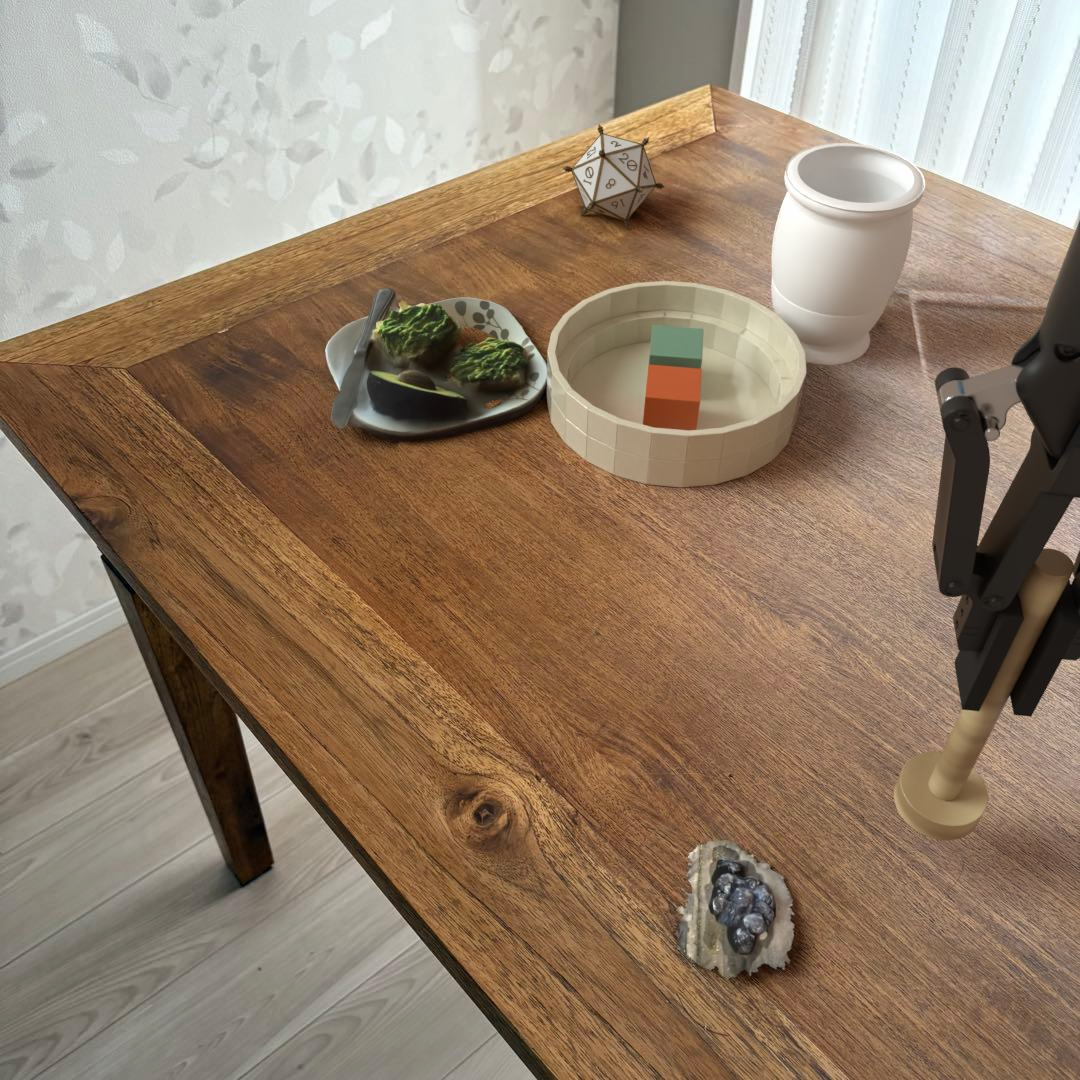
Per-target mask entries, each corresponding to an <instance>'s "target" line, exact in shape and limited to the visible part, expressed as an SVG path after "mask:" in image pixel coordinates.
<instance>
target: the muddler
mask: <svg viewBox="0 0 1080 1080" xmlns="http://www.w3.org/2000/svg"><path fill="white" fill-rule="evenodd" d="M1073 571H1074V562H1073V560H1072V559H1071V558H1070V556H1069V555H1067V554H1066V553H1065V552H1063V551H1061V550H1059V549H1055V548H1047V547H1046V548H1043V550H1042V552H1041V553H1040V555H1039V557H1038V558H1037V560H1036V562H1035V563H1034V565H1033V567H1032V568H1031V570H1030V572H1029V573H1028V575H1027V577H1026V579H1025V580H1024V582H1023V584H1022V585H1021V587H1020V589H1019V590H1018V592H1017V594H1018V597H1019V598H1020V603H1021V607H1022V612H1023V616H1024V620H1023V622H1022V624H1021V626H1020V628H1019V630H1018V632H1017V634H1016V636H1015V638H1014V640H1013V642H1012V644H1011V647H1010V649H1009V651H1008V653H1007V655H1006V657H1005V659H1004V661H1003V663H1002V665H1001V667H1000V669H999V671H998V673H997V675H996V678H995V680H994V682H993V684H992V686H991V688H990V690H989V692H988V694H987V696H986V698H985V700H984V702H983V704H982V706H981V708H980V711H971V710H962V709H961V710H960V712H959V714H958V717H957V718H956V720H955V723H954V725H953V726H952V730H951V732H950V734H949V736H948V738H947V740H946V742H945V745H944V746H943V749H942V751H924V752H921V753H918V754H916V755H913V756H912V757H910V758H909V759H908V760H907V761H906V762H905V763H904V765H903V766H902V768H901V771H900V773H899V775H898V778H897V780H896V782H895V784H894V789H893V800H894V805H895V808H896V809H897V811H898V813H899V815H900V816H901V818H902V820H904V822H905V823H906V824H907V825H909V827H910V828H912V829H913V830H914V831H916V832H918V833H920V834H921V835H923V836H925V837H928V838H930V839H934V840H939V841H956V840H960V839H962V838H965V837H967V836H968V835H970V834H971V833H973V832H974V830H975V829H976V828H977V827H978V825H979V823H980V821H981V820H982V818H983V816H984V814H985V812H986V810H987V808H988V804H989V792H988V788H987V785H986V782H985V781H984V779H983V777H982V776H981V774H980V773H979V771H977V770H976V768H975V765H976V763H977V761H978V759H979V758H980V755H981V754H982V751H983V749H984V748H985V745H986V743H987V742H988V739H989V738H990V736H991V734H992V732H993V730H994V728H995V727H996V724H997V722H998V721H999V718H1000V716H1001V714H1002V712H1003V710H1004V708H1005V706H1006V704H1007V702H1008V700H1009V699H1010V694H1011V693H1012V691H1013V689H1014V687H1015V685H1016V683H1017V681H1018V679H1019V677H1020V675H1021V673H1022V671H1023V669H1024V667H1025V665H1026V663H1027V661H1028V659H1029V657H1030V655H1031V653H1032V651H1033V649H1034V647H1035V645H1036V643H1037V641H1038V639H1039V638H1040V636H1041V634H1042V632H1043V630H1044V628H1045V626H1046V624H1047V622H1048V620H1049V618H1050V616H1051V614H1052V612H1053V610H1054V608H1055V606H1056V604H1057V602H1058V600H1059V598H1060V596H1061V594H1062V592H1063V590H1064V588H1065V586H1066V584H1067V583H1068V581H1069V580H1070V579H1071V577H1072V575H1073Z"/></svg>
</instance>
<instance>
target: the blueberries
mask: <svg viewBox="0 0 1080 1080" xmlns="http://www.w3.org/2000/svg"><path fill="white" fill-rule="evenodd" d="M687 858H688V859H689V860H690V862H691V863H690V862H688V863H687V865H688V866H690V867H689V869H688V871H687V874H685V877H686V879H687V881H688V883H689V885H690V886H691V889H692V890H691V892H690V893H689V892H688V891H686V890H685V889H684V888H683V887H681V888H680V889H681V890H682V891H683V892H684V895H685V896H687V898H684V900H685V901H687V902H685V905H684V906H685V907H684V906H683V905H680V906H678V907H677V909H676V911H677V912H678V914H679V915H680V914H681V915H682V917H681V919H680V920H679V921H680V923H679V924H678V927H679V928H677V929H678V930H676V932H675V936H676V937H677V941H676V943H675V945H676V946H678V947H680V952H681V951H682V952H683V954H684V956H685V958H688V959H690V960H691V961H693V962H694V963H696V965H697V966H699V967H701V968H702V969H703V968H705V969H706V970H709V971H712V970H713V969H715V967H717V969H718V970H717V972H718V974H719V975H720V976H721V977H723V978H725V980H729V979H731V978H733V979H734V978H736V977H738V976H739V975H738V974H741V972H743V971H745V972H746V973H748V976H750V977H751V976H752V973H758V972H759V969H758V968H759V967H762V965H764V964H765V965H769V967H771V968H773V969H774V970H777V968H781V969H782V970H785V969H786V968H785V967H786V963H787V964H790V962H791V959H790V958H789V956H788V952H789V951H791V950H792V944H793V940H794V936H795V934H794V929H795V924H794V923H793V922H792V921H791V920H792V916H795V913H794V912H793V909H792V908H791V907H792V906H793V901H794V899H793V898H792V897H793V896H792V894H791V892H790V891H789V888H788V886H787V883H786V882H785V876H783V875H782V874H781V873H780V872H776V871H774V870H773V869H771V864H769V862H766V863H765V862H763V861H762V860H761V861H760V862H757V859H756V858H755V856H754V854H749V853H748V852H747V851H746V850H744V849H743V848H742V847H740V846H738V844H737V842H734V841H732V840H727V839H722V838H720V839H714V840H712V839H711V838H708V840H707V841H706V843H704V844H703V843H700V844H696V845H695V848H694V849H693V851H690V852H688V856H687V857H686V859H687ZM791 915H792V916H791ZM785 962H786V963H785Z"/></svg>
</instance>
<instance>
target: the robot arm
mask: <svg viewBox="0 0 1080 1080" xmlns="http://www.w3.org/2000/svg"><path fill="white" fill-rule="evenodd" d="M934 387H935V391H936V396H937V402H938V408H939V412H940V417H941V424H942V428H943V431H944V433H945V437H944V444H943V452H942V461H941V470H940V477H939V478H940V479H939V486H938V494H937V501H936V502H937V503H936V511H935V516H934V526H933V535H932V536H933V537H932V543H931V548H932V552H933V561H934V567H935V573H936V580H937V584H938V590H939V593H941V595H942V596H945V597H947V598H959V597H960V598H959V601H958V604H957V606H956V609H955V611H954V614H953V616H952V621H953V626H954V627H953V628H954V634H955V641H956V645H957V649H958V653H957V655H956V658H955V659H954V661H953V662H954V668H955V675H956V681H957V687H958V694H959V700H960V707H961V710H971V711H980V708H981V706H982V704H983V702H984V700H985V698H986V696H987V694H988V692H989V690H990V688H991V686H992V684H993V682H994V680H995V678H996V675H997V673H998V671H999V669H1000V667H1001V665H1002V663H1003V661H1004V659H1005V657H1006V655H1007V653H1008V651H1009V649H1010V647H1011V644H1012V642H1013V640H1014V638H1015V636H1016V634H1017V632H1018V630H1019V628H1020V626H1021V624H1022V622H1023V620H1024V616H1023V612H1022V607H1021V603H1020V598H1019V597H1018V594H1017V592H1018V590H1019V589H1020V587H1021V585H1022V584H1023V582H1024V580H1025V579H1026V577H1027V575H1028V573H1029V572H1030V570H1031V568H1032V567H1033V565H1034V563H1035V562H1036V560H1037V558H1038V557H1039V555H1040V553H1041V552H1042V550H1043V549H1045V547H1046V546H1047V543H1048V541H1049V540H1050V538H1051V537H1052V535H1053V533H1054V532H1055V530H1056V528H1057V526H1058V525H1059V523H1060V521H1061V520H1062V518H1063V517H1064V515H1065V513H1066V511H1067V510H1068V508H1069V506H1070V505H1071V503H1072V501H1073V500H1074V498H1076V499H1080V219H1079V220H1078V223H1077V225H1076V227H1075V231H1074V233H1073V236H1072V238H1071V241H1070V243H1069V246H1068V250H1067V251H1066V254H1065V257H1064V259H1063V262H1062V265H1061V267H1060V270H1059V272H1058V275H1057V278H1056V280H1055V283H1054V285H1053V288H1052V291H1051V293H1050V296H1049V300H1048V302H1047V305H1046V309H1045V312H1044V315H1043V319H1042V321H1041V322H1040V325H1039V326H1038V328H1037V330H1035V332H1034V333H1033V334H1032V335H1031V336H1030V337H1028V339H1026V341H1024V342H1023V343H1022V344H1021V345H1019V347H1018V348H1017V350H1016V351H1015V352H1014V354H1013V356H1012V359H1011V364H1010V365H1008V366H1004V367H1002V368H999V369H995V370H991V371H988V372H985V373H982V374H979V375H976V376H973V377H972V376H971V377H970V375H969V373H968V372H967V370H965V369H964V368H962V367H955V366H952V367H947V368H945V369H943V370H941V371H940V372H939V373H938V374H937V375H936V377H935V379H934ZM1019 403H1021V404H1022V406H1023V408H1024V410H1025V412H1026V414H1027V415H1028V418H1029V419H1030V421H1031V424H1032V425H1033V427H1034V428H1033V429H1032V432H1031V436H1030V444H1029V449H1028V452H1027V454H1026V455H1025V457H1024V459H1023V461H1022V463H1021V465H1020V467H1019V468H1018V470H1017V472H1016V474H1015V476H1014V478H1013V479H1012V482H1011V484H1010V485H1009V488H1008V489H1007V491H1006V493H1005V495H1004V496H1003V499H1002V501H1001V502H1000V504H999V506H998V508H997V509H996V512H995V514H994V516H993V517H992V519H991V521H990V523H989V525H988V526H987V528H986V530H985V533H984V535H983V536H982V538H981V540H980V542H979V537H980V536H979V535H980V530H981V525H982V518H983V512H984V506H985V501H986V500H985V499H986V495H987V494H986V492H987V487H988V480H989V475H990V470H991V469H990V467H991V454H990V453H991V452H990V448H989V442H995V441H996V440H998V439H999V438H1000V437H1001V430H1002V429H1004V427H1005V426H1006V424H1007V414H1008V413H1009V411H1010V409H1011V408H1013V407H1014V406H1015V405H1017V404H1019ZM978 543H979V544H978ZM1073 565H1074V571H1073V573H1072V575H1073V580H1072V582H1071V581H1070V579H1069V581H1068V583H1067V584H1066V586H1065V588H1064V590H1063V592H1062V594H1061V596H1060V598H1059V600H1058V602H1057V604H1056V606H1055V608H1054V610H1053V612H1052V614H1051V616H1050V618H1049V620H1048V622H1047V624H1046V626H1045V628H1044V630H1043V632H1042V634H1041V636H1040V638H1039V639H1038V641H1037V643H1036V645H1035V647H1034V649H1033V651H1032V653H1031V655H1030V657H1029V659H1028V661H1027V663H1026V665H1025V667H1024V669H1023V671H1022V673H1021V675H1020V677H1019V679H1018V681H1017V683H1016V685H1015V687H1014V689H1013V691H1012V693H1011V694H1010V696H1009V699H1010V703H1011V707H1012V712H1013V716H1020V717H1032V716H1033V714H1034V713H1035V710H1036V708H1037V707H1038V705H1039V702H1040V701H1041V700H1042V697H1043V696H1044V694H1045V692H1046V690H1047V689H1048V686H1049V685H1050V683H1051V681H1052V679H1053V677H1054V676H1055V674H1056V672H1057V670H1058V669H1059V666H1060V664H1061V663H1062V661H1063V660H1064V661H1074V662H1075V661H1076V662H1077V660H1079V659H1080V549H1079V550H1078V553H1077V555H1076V558H1075V560H1074V562H1073Z"/></svg>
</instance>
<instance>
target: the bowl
mask: <svg viewBox="0 0 1080 1080" xmlns="http://www.w3.org/2000/svg"><path fill="white" fill-rule="evenodd" d="M652 325H661V326H674V327H686V328H699V329H703V352H702V364H701V369H702V375H701V397H700V408H699V415H698V422H697V429H696V430H677V429H666V428H654V427H650V426H647V425H643V415H644V404H645V394H646V384H647V374H648V365H649V354H650V344H651V334H652ZM546 352H547V356H546V357H547V359H546V364H547V387H546V406H547V410H548V414H549V419H550V423H551V425H552V427H553V428H554V429H555V431H556V432H557V434H558V435H559V437H560V438H561V440H562V442H563V443H564V444H565V445H566V446H568V447H569V448H570V449H571V450H572V451H573V452H574V453H576V454H577V455H578V456H579V457H580V458H582V459H583V460H584V461H586V462H587V463H589V464H591V465H593V466H595V467H597V468H599V469H601V470H603V471H605V472H607V473H609V474H611V475H612V476H613V475H614V476H615V477H619V478H623V479H626V480H629V481H634V482H636V483H641V484H644V485H649V486H658V487H659V486H661V487H670V488H671V487H672V488H691V487H692V488H693V487H704V486H715V485H718V484H722V483H726V482H729V481H732V480H736V479H739V478H743V477H746V476H748V475H750V474H753V473H754V472H756V471H758V470H759V469H761V468H763V467H764V466H766V465H767V464H769V463H771V462H772V461H773V460H775V458H776V457H777V456H778V455H779V454H780V453H781V452H782V451H783V450H784V448H786V446H787V445H788V444H789V443H790V439H791V437H792V434H793V431H794V429H795V427H796V423H797V419H798V414H799V411H800V410H799V409H800V406H801V400H802V397H803V392H804V387H805V382H806V378H807V375H808V373H807V362H806V354H805V351H804V349H803V347H802V345H801V343H800V341H799V339H798V337H797V335H796V333H795V332H794V331H793V330H792V329H791V328H790V327H789V326H788V325H787V324H786V323H785V322H784V321H783V320H782V319H781V318H780V317H779V316H778V315H777V314H775V311H772V310H771V309H769V308H767V307H766V306H764V305H763V304H761V303H759V302H758V301H756V300H754V299H752V298H749V297H747V296H744V295H741V294H739V293H737V292H734V291H731V290H729V289H725V288H720V287H716V286H712V285H708V284H702V283H700V282H699V283H698V282H688V281H687V282H686V281H674V280H659V281H658V280H657V281H643V282H633V283H629V284H625V285H620V286H615V287H610V288H607V289H605V290H603V291H601V292H597V293H596V294H594V295H591V296H589V297H586V298H584V299H583V300H581V301H579V302H578V303H577V304H576V305H574V306H573V307H572V308H570V309H569V310H568V311H566V312H565V313H563V315H562V317H561V318H560V319H559V321H558V322H557V324H556V325H555V326H554V328H553V329H552V331H551V333H550V337H549V342H548V347H547V351H546Z"/></svg>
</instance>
